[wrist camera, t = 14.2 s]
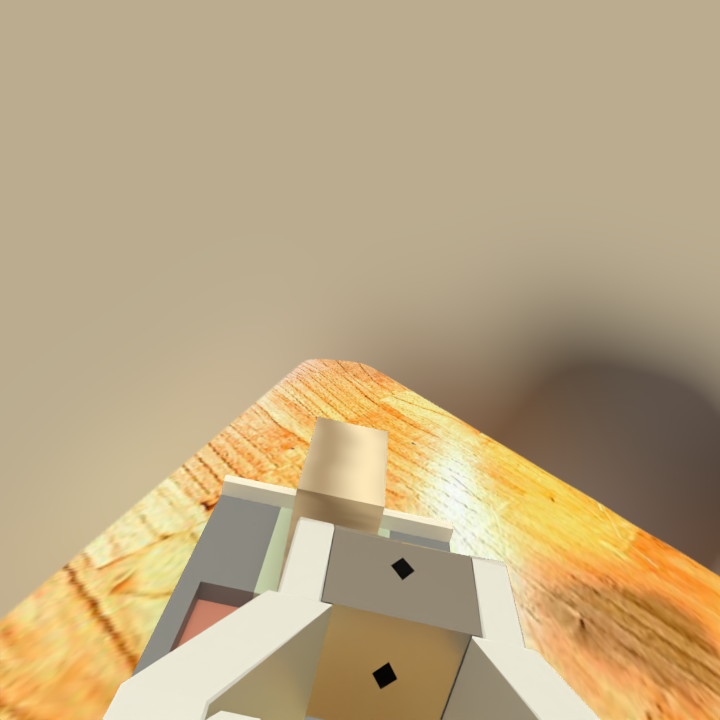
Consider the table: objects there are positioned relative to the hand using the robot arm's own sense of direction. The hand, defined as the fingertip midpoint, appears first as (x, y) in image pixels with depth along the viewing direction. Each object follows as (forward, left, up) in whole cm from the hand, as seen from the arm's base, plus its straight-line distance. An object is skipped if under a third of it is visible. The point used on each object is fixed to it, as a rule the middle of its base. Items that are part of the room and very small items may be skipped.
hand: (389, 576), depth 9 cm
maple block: (-6, -34, -28) cm, 44 cm away
